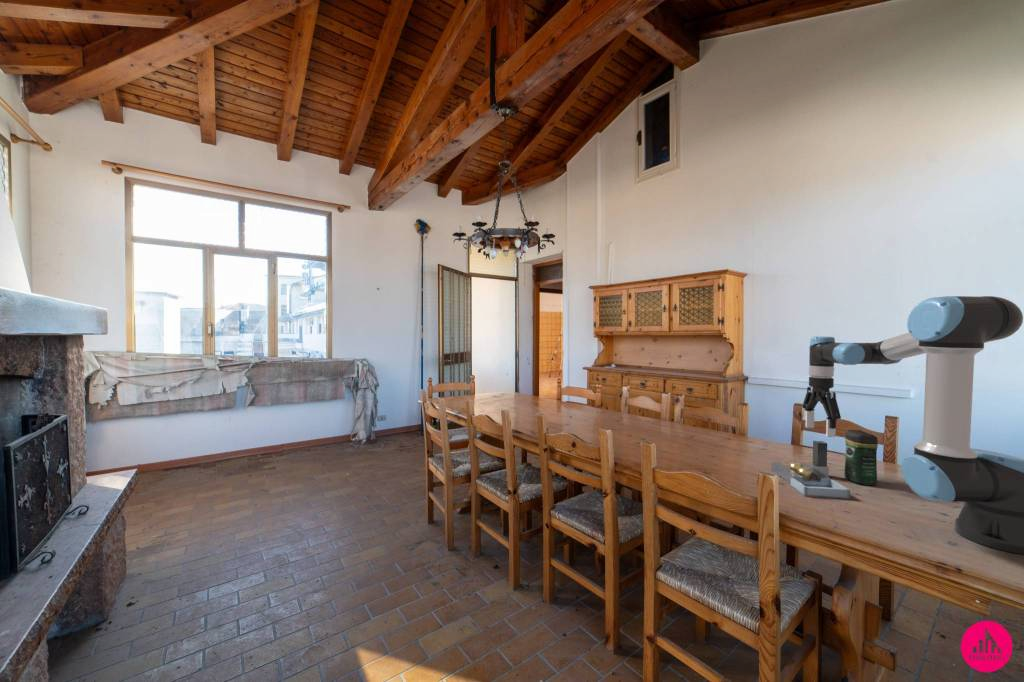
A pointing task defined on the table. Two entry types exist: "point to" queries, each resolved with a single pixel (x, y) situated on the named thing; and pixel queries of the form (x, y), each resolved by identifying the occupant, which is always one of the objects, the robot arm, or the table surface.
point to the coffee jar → (861, 457)
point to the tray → (822, 490)
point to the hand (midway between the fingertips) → (819, 432)
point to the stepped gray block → (820, 457)
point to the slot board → (787, 474)
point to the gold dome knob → (805, 472)
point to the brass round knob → (795, 466)
